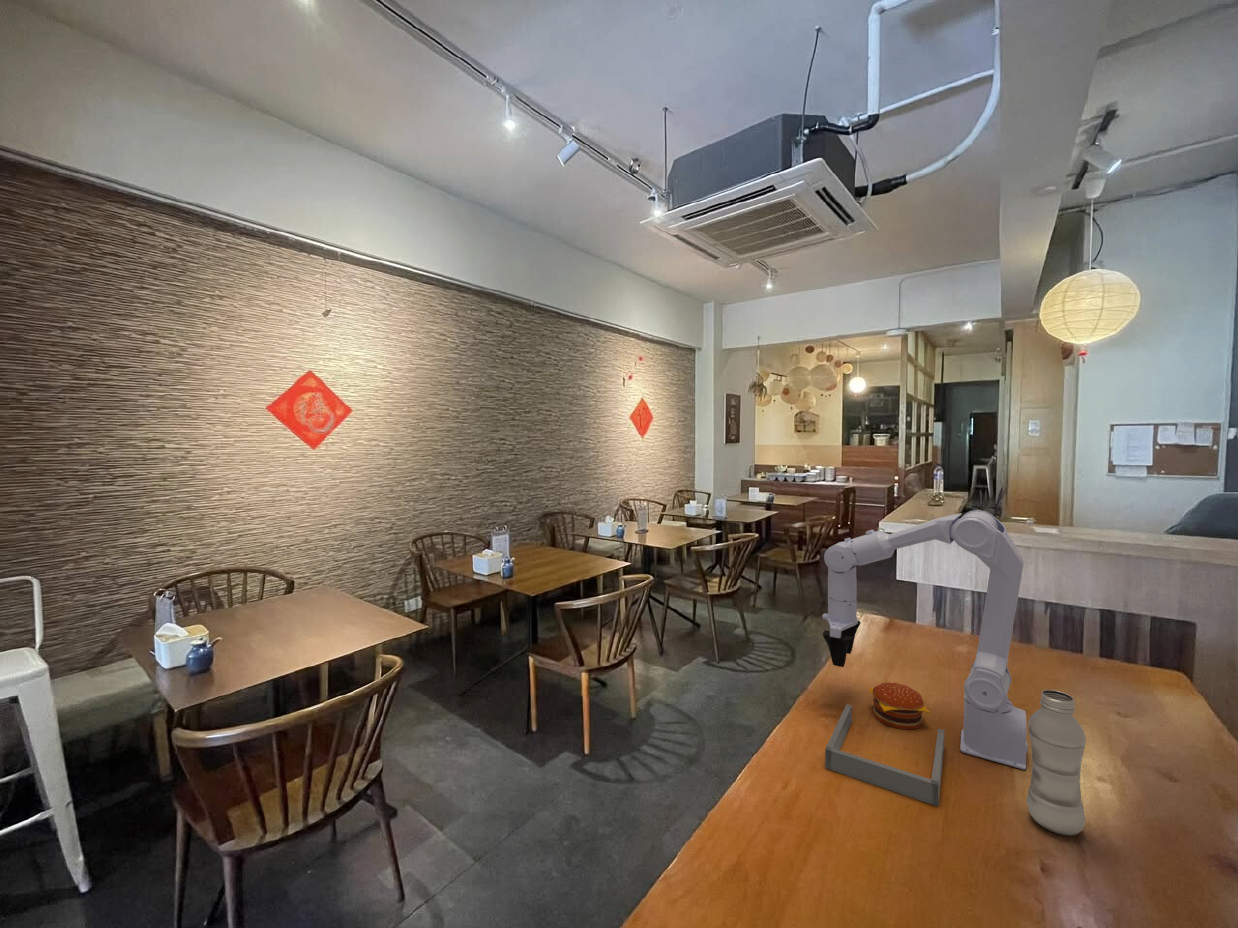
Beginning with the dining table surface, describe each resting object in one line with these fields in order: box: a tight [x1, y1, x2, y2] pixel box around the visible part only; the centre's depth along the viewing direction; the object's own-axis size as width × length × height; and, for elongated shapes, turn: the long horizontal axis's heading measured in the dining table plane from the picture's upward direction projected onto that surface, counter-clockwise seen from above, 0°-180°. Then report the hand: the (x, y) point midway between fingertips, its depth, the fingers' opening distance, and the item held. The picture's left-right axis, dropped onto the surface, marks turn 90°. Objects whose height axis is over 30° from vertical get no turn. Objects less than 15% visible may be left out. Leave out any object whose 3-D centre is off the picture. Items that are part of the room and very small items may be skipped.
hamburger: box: [867, 682, 931, 731], centre depth 105 cm, size 9×10×7 cm
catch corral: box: [824, 703, 945, 807], centre depth 92 cm, size 17×18×4 cm
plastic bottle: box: [1026, 689, 1087, 837], centre depth 75 cm, size 6×7×20 cm
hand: (842, 658), depth 111 cm, fingers open, 7 cm apart
